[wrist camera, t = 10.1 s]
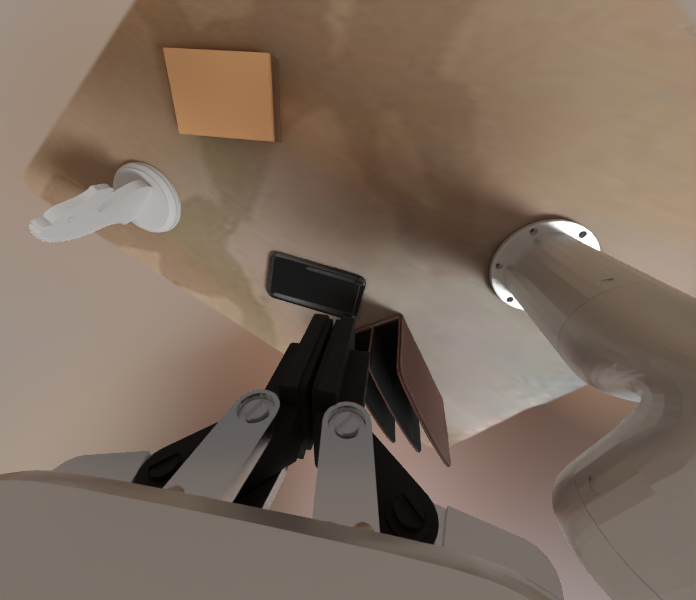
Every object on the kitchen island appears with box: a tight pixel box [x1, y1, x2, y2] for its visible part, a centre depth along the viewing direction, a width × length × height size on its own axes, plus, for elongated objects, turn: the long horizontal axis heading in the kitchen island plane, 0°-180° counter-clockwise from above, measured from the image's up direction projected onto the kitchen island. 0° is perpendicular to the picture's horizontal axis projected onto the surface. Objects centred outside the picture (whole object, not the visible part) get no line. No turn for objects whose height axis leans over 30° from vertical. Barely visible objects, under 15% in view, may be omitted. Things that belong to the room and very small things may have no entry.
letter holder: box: [354, 314, 451, 467], centre depth 43 cm, size 10×20×14 cm, turn 28°
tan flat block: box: [163, 48, 281, 142], centre depth 32 cm, size 3×8×12 cm
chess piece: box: [28, 162, 181, 243], centre depth 35 cm, size 10×10×15 cm
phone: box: [267, 252, 366, 318], centre depth 44 cm, size 8×1×15 cm
